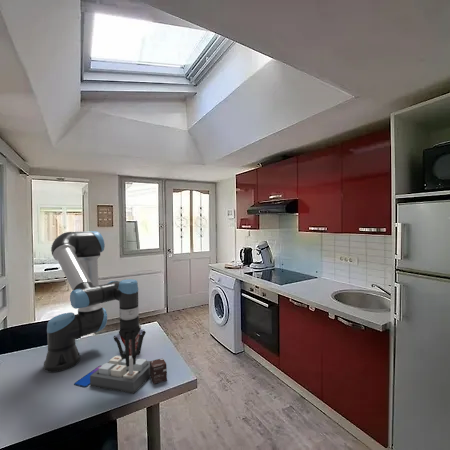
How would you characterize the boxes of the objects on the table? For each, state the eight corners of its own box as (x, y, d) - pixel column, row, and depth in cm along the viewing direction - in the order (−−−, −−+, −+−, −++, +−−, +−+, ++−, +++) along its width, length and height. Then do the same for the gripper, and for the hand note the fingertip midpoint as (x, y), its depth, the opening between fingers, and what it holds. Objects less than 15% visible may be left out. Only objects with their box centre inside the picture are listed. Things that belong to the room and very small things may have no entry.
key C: (123, 383, 109) (123, 375, 109) (129, 376, 114) (129, 369, 114) (132, 384, 108) (132, 376, 108) (138, 378, 112) (138, 371, 112)
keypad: (90, 386, 111) (89, 375, 111) (115, 366, 126) (115, 356, 126) (133, 393, 105) (133, 382, 105) (154, 371, 121) (154, 361, 121)
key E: (132, 370, 116) (132, 363, 116) (138, 365, 120) (138, 358, 120) (141, 371, 114) (141, 364, 114) (146, 366, 119) (146, 359, 119)
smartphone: (72, 383, 112) (100, 365, 126) (72, 385, 112) (100, 366, 126) (85, 387, 110) (112, 367, 124) (85, 389, 110) (112, 369, 124)
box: (152, 384, 111) (152, 367, 111) (150, 377, 116) (149, 361, 116) (167, 380, 114) (166, 363, 114) (163, 373, 119) (163, 357, 119)
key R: (120, 368, 117) (120, 362, 117) (126, 363, 121) (126, 357, 121) (129, 369, 116) (129, 363, 116) (135, 364, 120) (135, 358, 120)
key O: (99, 375, 112) (98, 368, 112) (106, 369, 117) (106, 362, 117) (107, 376, 111) (107, 369, 111) (114, 370, 116) (114, 364, 116)
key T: (110, 377, 111) (110, 369, 111) (117, 371, 115) (117, 364, 115) (119, 378, 110) (119, 370, 110) (126, 372, 114) (126, 365, 114)
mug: (145, 349, 142) (145, 324, 142) (133, 358, 133) (133, 331, 133) (127, 346, 147) (126, 321, 146) (115, 353, 138) (114, 328, 138)
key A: (109, 367, 119) (109, 360, 119) (115, 361, 123) (115, 355, 123) (117, 368, 118) (117, 361, 118) (124, 363, 122) (123, 356, 122)
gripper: (113, 323, 104) (115, 382, 104) (147, 316, 111) (148, 372, 111) (111, 317, 111) (113, 373, 111) (143, 311, 117) (144, 364, 117)
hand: (130, 372), depth 111 cm, fingers closed
